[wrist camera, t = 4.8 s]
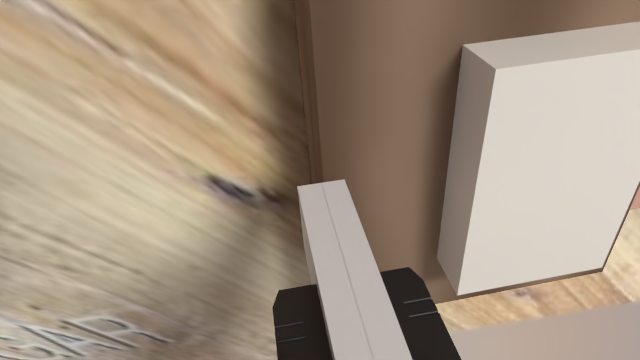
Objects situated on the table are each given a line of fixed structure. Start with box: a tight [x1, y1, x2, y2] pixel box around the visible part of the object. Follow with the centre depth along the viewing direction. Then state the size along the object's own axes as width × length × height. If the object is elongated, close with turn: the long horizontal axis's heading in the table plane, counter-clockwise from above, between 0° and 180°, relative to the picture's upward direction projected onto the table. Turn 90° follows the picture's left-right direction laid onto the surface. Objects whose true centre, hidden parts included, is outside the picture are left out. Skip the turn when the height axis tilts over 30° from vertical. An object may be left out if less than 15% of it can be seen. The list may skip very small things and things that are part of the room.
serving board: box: [294, 0, 640, 304], centre depth 18 cm, size 13×15×4 cm
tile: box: [437, 22, 640, 295], centre depth 15 cm, size 6×9×2 cm, turn 4°
